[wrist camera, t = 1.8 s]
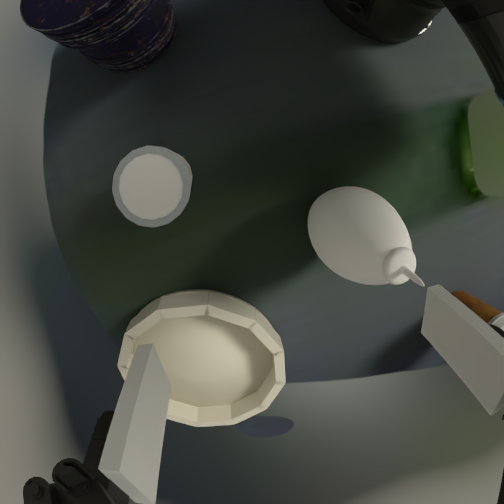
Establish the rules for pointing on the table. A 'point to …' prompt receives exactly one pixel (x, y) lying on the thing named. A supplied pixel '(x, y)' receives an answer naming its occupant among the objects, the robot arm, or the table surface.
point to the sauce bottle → (361, 237)
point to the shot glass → (152, 185)
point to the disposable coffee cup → (481, 309)
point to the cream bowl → (209, 355)
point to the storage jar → (107, 29)
